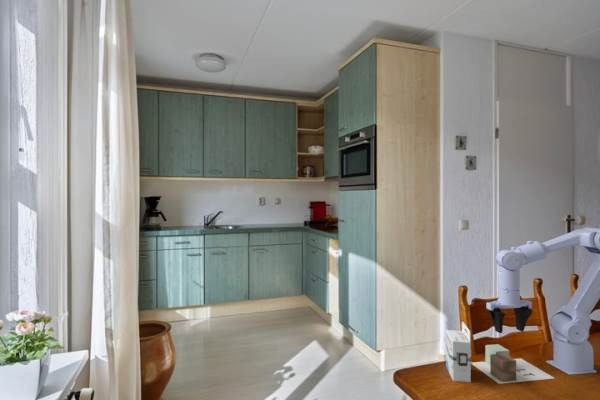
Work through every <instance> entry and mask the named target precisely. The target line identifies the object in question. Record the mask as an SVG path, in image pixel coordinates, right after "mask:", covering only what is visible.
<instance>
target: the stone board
mask: <svg viewBox="0 0 600 400" xmlns="http://www.w3.org/2000/svg"><path fill="white" fill-rule="evenodd" d="M513 359H514V360H516V380H511V381H501V380H499V379H498V378H497V377H495V376H494V375H492V374H491V367H490V365H488V364H487V363H486V361H477V362H476V361H475V362H473V361H472V362H471V365H472V366H474V367H475V368H476V369H478V370H479V371H481V372H482V374H483V373H484V374H485V375H486V376H487V377H489V378H491V379H492V380H493V381H494V382H496V383H497V384H498V385H500V384H510V383H520V382H530V381H540V380H551V379H552V380H553V379H555V377H554V376H553V375H550V374H549V373H546V372H545V371H544V370H542V369H540V368H538V367H537V366H535V365H533V364H531V363H530V362H528V361H526V360H524V359H523V358H520V357H519V358H513Z"/></svg>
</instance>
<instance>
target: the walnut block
mask: <svg viewBox="0 0 600 400" xmlns="http://www.w3.org/2000/svg"><path fill="white" fill-rule="evenodd" d="M514 359H515V358H512V357H511V356H510V355H509V356H508V355H506V354H504V353H502V354H491V355H490V367H491V374H492V375H494V376H495V377H497V378H498V379H499V380H501V381H511V380H516V360H514Z"/></svg>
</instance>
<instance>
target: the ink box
mask: <svg viewBox="0 0 600 400" xmlns="http://www.w3.org/2000/svg"><path fill="white" fill-rule="evenodd" d="M471 333H472V332H471V330H470V329H469V328H468V326H467V325H466V324H465V322H464V321H461V330H453V329H452V330H451V329H446V330H445V339H446V340H445V368H446V369H447V371H448V374H449V376H450V377H451V380H452V381H453V382H461V383H471V382H472V380H471V377H472V373H471V372H472V371H471V370H472V369H471V368H472V364H471V363H472V360H471V359H472V351H471V350H472V349H471V348H472V343H471V336H472V335H471Z"/></svg>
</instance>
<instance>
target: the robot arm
mask: <svg viewBox="0 0 600 400" xmlns="http://www.w3.org/2000/svg"><path fill="white" fill-rule="evenodd" d="M575 246H578V247H579V246H581V247H583V248H584V249H586V251H587V252H589V254H590V255H591V258H592V259H593V262H592V263H591V265H590V267H589V268H588V270H587V271H586V273H585V275H584V277H583V279H582V280H581V282H580V283H579V285H578V287H577V288H576V290H575V292H574V293H573V295H572V296H571V298H570V300H569V302H567V304H565V305H562V306H560V307H559V308H558V310H557V311H556V312H554V313H552V315H550V317H549V321H548V322H549V326H550V327H551V329H552V330H553V333H552V334H553V335H552V336H553V337H552V338H553V360H552V359H551V360H546V363H547V364H549V365H551V366H553V367H554V368H556V369H558V370H560V371H562V372H563V373H566V374H568V375H570V376H571V375H580V374H581V375H582V374H592V373H593V374H597V370H595V367H594V347H593V346H592V344H591V343H590V341H588V338H589V336H590V328H591V326H592V322H591V318H590V314H591V313H592V311H593V309H594V308H595V307H596V305H597V303H598V301H599V300H600V228H599V227H598V228H596V227H592V226H586V227H583V228H579V229H574V230H573V231H570V232H567V233H565V234H562V235H559V236H557V237H554V238H552V239H549V240H547V241H543V242H542V243H541V242H539V241H536V240H534V241H532V240H528V241H526V243H525V244H522V245H520V246H511V247H510V249H502V250H500V251H499V252H498V253H497V254H496V257H494V258H495V259H494V260H495V262H496V264H497V265H498V298H497V300H493V301H488V302H486V311H487V312H488V314H489V317H491V320H492V324H493V328H494V331H496V333H499V334H502V333H503V326H504V325H503V324H504V319H505V315H506V313H505V312H503V311H502V310H507V309H508V310H509V309H513V311H514V316H515V317H514V318H515V328H516V330H518V331H519V332H521V333H522V332H523V333H524V331H525V328H526V325H527V321H528V320H529V318H530V317H531V316H532V314H533V310H532V308H533V302H532V301H530V300H528V299H527V300H526V299H523V300H522V299H521V283H520V282H521V278H520V277H521V276H520V273H521V272H520V270H521V268H522V267H524V266H525V265H528V264H531V263H535V262H538V261H541V260H544V259H546V257H547V256H548V254H549V253H552V252H556V251H560V250H562V249H563V250H564V249H567V248H571V247H575Z"/></svg>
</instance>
